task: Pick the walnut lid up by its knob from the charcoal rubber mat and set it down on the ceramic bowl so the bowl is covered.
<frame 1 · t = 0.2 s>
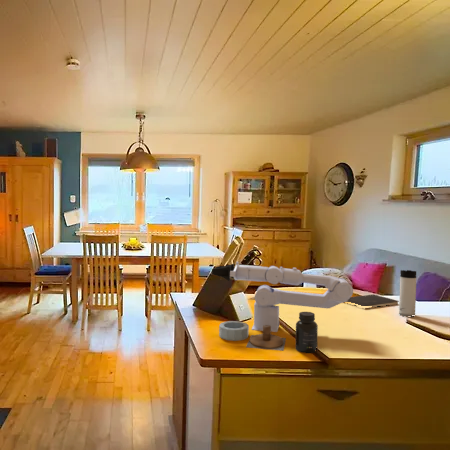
hand: (214, 270, 144), 21 cm above the countertop, tool horizontal, fingers open, 7 cm apart
supplement bottle: (306, 351, 120), on the countertop
lid: (266, 342, 125), resting on mat
hardcover book: (368, 304, 183), on the countertop
bowl: (233, 336, 132), on the countertop
travel mug: (407, 315, 162), on the countertop
mat: (266, 343, 125), on the countertop
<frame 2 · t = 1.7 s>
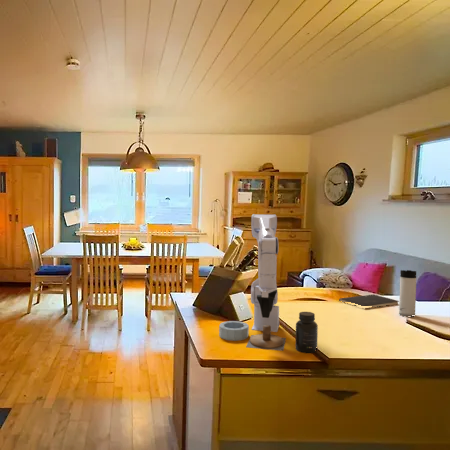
hand: (267, 314, 125), 10 cm above the countertop, tool pointing down, fingers open, 7 cm apart
nothing on the countertop moved.
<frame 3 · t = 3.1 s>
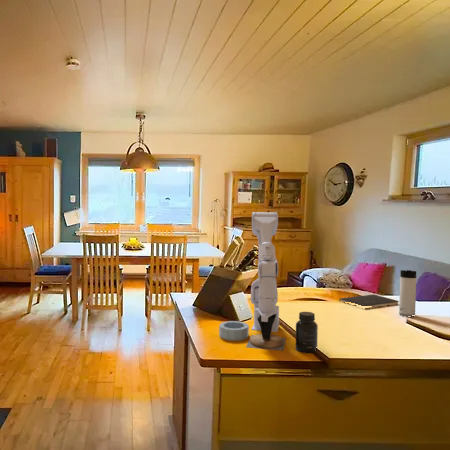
hand: (266, 337, 125), 2 cm above the countertop, tool pointing down, fingers closed on lid, 3 cm apart
lid: (266, 342, 125), resting on mat, touching gripper
everything else where it was.
when the fingers open (7 cm above the countertop, at t = 5.4 s): lid stays where it is, resting on bowl.
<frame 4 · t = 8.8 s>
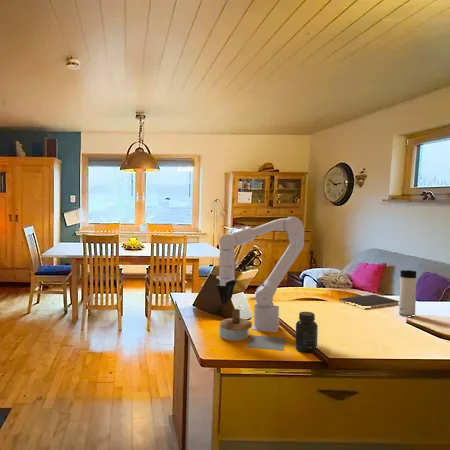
hand: (226, 301, 142), 10 cm above the countertop, tool pointing down, fingers open, 7 cm apart
lid: (235, 325, 132), point 4 cm above the countertop, touching bowl
everything else where it was.
at the end: lid 0.7 cm off-centre on the bowl, point 4.0 cm above the bowl's base; lid tilted 0°; the gripper is holding nothing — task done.
